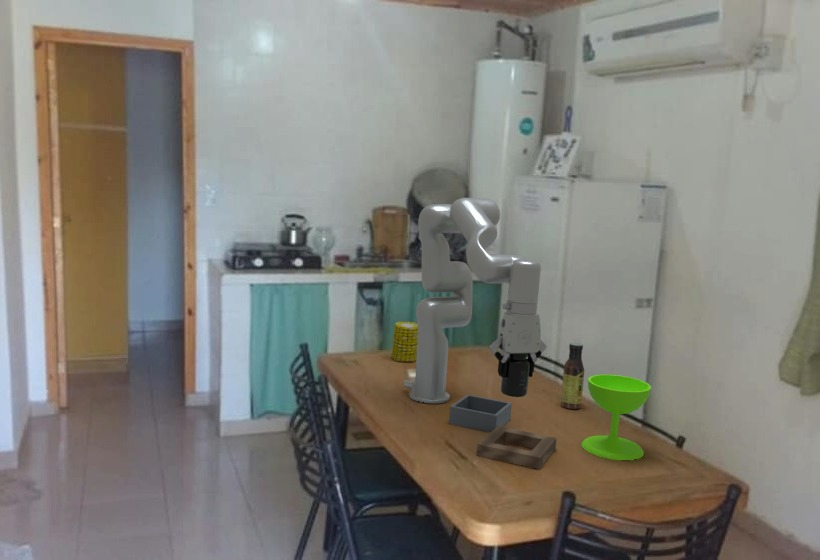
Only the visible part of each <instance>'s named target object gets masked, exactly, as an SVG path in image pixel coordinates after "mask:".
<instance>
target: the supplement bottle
mask: <svg viewBox="0 0 820 560" xmlns="http://www.w3.org/2000/svg"><path fill="white" fill-rule="evenodd" d="M527 355H528V354H524V353H522V354H510V355H509V356H508V358H507V360H506V363H507V364H508V366H507V376H506V378H502V377H501V382H500V384H501V386H500V392H501V393H502V394H503V395H506V396H507V397H512V398H522V397H523V398H524V397H525V396H527V394H528V387H529V380H530V377H529V371H530V362H529V360H528V357H527Z"/></svg>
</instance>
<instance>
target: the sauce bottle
mask: <svg viewBox="0 0 820 560" xmlns="http://www.w3.org/2000/svg"><path fill="white" fill-rule="evenodd" d="M568 349H569V353H568V359H566V361H565V363H564V366H563V375H562V386H561V397H560V405H561V407H563V408H565V409H569V410H578V409H580V408H581V405H582V401H583V390H584V380H585V379H584V378H585V367H584V364H583V360H582V354H583V349H584V344H582V343H579V342H570V343H569V348H568Z"/></svg>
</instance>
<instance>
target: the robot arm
mask: <svg viewBox="0 0 820 560" xmlns="http://www.w3.org/2000/svg"><path fill="white" fill-rule="evenodd" d="M500 219H501V210H500V208H499V205H498V204H497V203H496V201H494V200H493V199H490V198H486V197H485V198H482V197H462V198H461V197H460V198H459V199H456V200H455V201H454V202H453V203H451V204H449V203H438V204H437V203H435V204H429V205H427V206H424V208H423V209H422V210H421V211H420V213H419V217H418V221H417V229H418V234H419V238H420V239H419V240H420V243H421V285H422V288H423V289H424V290H425V291H426V292H429V293H451V296H432V297H426V298H423V299H422V300H420V301H419V302H418V303H417V305H416V310H415V311H416V312H415V313H416V322H417V323H416V324H417V325H418V343H417V359H416V360H415V362H416V364H415V378H414V380H413V381H412V380H410V379H404V381H403V387H404V388H406V389H410V391H409V393H408V394H409V395H408V397H409V398H410V399H411V400H413V401H416V402H418V401H419V403H423V402H424V403H425V404H443V403H446V402H448V401H450V398H451V395H450V393H448V392H447V391H446V385H447V384H446V383H447V370H448V360H449V359H448V358H449V357H448V356H449V355H448V354H449V339H448V338H447V336H446V334H445V333H444V330H443V329H448V328H452V329H453V328H462V327H466V326H468V324H469V323H470V322H471V320H472V316H473V290H474V289H473V288H474V287H473V286H474V285H473V281H474V280H473V279H474V278H473V275H474V276H475V277H476V278H477V279H478V280H479V281H481V282H482V283H484V284H491V285H492V284H508V292H507V300H506V303H502V309H503V310H505V311H504V313H503V315H502V318H501V321H500V322H501V323H500V327H499V332H498V337H497V338H496V339H495V340H494V341H493V342H492V343H490V345H489V346H488V348H489V351H491V353H492V354H493V356H494V357H495V358H496V360H497V361H498V364H497V365H498V366H497V373H498V376H499V377H501V379H502V378H506V376H507V366H508V364H507V363H506V360H507V358H508V356H509V355H510V354H522V353H524V354H528V355H527V357H526V358H527V359H528V360H529V362H530V371H529V378H532V377H533V373H534V371H535V363H536V362H537V361H538V358H539V357H540V356H541V355H543V354H542V353H543V352H544V351H546V349H547V347H548V346H547V345H546V343H545V342H543V340H542V339H541V332H542V330H541V319H540V318H541V317H540V314H539V313H537V310H538V300H539V290H540V280H541V271H542V269H541V268H542V267H541V263H540V262H539V261H538V260H535V259H529V258H526V257H525V256H523V255H520V254H503V253H502V254H500V253H499V254H498V253H497V254H489V253H488V252H487V251H486V249H488V248H489V247H490V246H492V245H493V244H494V243H495V242H496V240H497V236H498V230H497V229H498V228H497V227H496V226H497V225H498V224H499V222H500ZM444 233H446V234H462V236H463V237H464V238H465V240H466V241H467V244H466V247H465V248H466V250H465V256H466V261H467V263H465V262H463V261H458V260H456V261H453V260H452V261H451V258H450V255H451V254H450V251H451V248H450V244H449V242H448V240H447V239H446V237H445V235H444ZM472 273H473V274H472ZM498 348H499V350H500V351H499V350H498ZM424 403H423V404H424Z"/></svg>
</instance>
